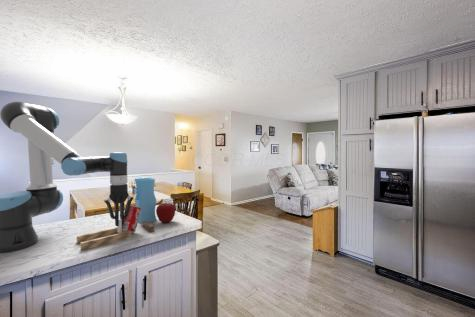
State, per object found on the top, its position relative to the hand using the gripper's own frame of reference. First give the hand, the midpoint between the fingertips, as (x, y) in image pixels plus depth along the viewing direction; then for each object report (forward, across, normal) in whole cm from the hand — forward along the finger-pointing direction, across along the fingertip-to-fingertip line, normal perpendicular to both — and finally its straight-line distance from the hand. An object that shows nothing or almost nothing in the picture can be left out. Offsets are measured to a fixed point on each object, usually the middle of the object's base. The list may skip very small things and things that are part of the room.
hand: (119, 232), depth 110 cm
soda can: (+1, +4, +1) cm, 4 cm away
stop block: (+2, +14, +1) cm, 14 cm away
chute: (+2, -6, +1) cm, 7 cm away
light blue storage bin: (+2, +19, +18) cm, 26 cm away
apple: (+2, +27, +6) cm, 27 cm away
